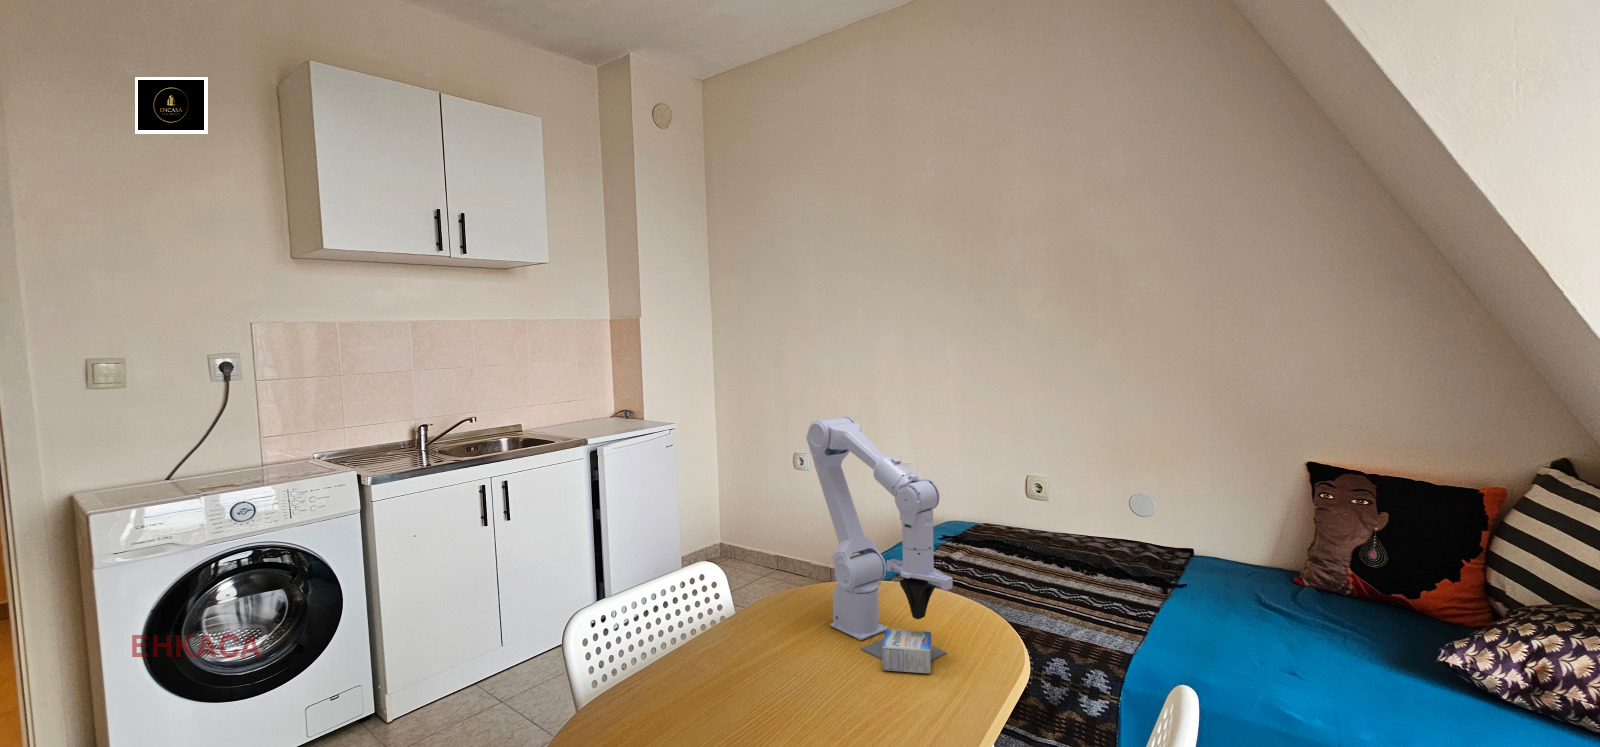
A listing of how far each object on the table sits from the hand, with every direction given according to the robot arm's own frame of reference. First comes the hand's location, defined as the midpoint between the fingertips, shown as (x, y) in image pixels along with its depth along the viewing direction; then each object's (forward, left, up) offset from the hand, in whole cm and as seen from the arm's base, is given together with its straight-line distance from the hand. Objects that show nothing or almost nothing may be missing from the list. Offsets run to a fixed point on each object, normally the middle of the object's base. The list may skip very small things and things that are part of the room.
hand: (918, 617), depth 127 cm
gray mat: (-3, -1, -7) cm, 8 cm away
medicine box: (+4, -1, -5) cm, 7 cm away
